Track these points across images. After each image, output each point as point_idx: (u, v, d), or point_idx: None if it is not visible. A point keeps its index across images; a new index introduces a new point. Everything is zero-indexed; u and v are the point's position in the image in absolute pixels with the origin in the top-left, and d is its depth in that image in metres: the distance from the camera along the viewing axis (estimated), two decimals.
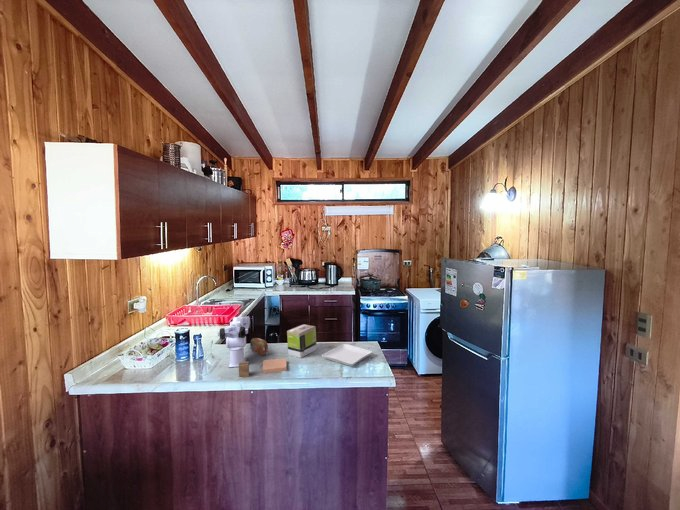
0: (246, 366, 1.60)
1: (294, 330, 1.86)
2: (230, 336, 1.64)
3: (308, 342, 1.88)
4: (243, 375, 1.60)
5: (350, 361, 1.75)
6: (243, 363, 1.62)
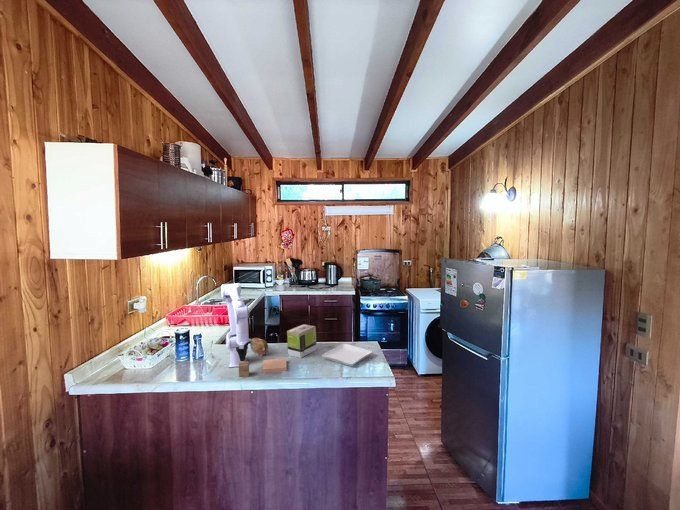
0: (246, 366, 1.60)
1: (294, 330, 1.86)
2: None
3: (309, 342, 1.88)
4: (243, 375, 1.60)
5: (350, 361, 1.75)
6: (243, 363, 1.62)
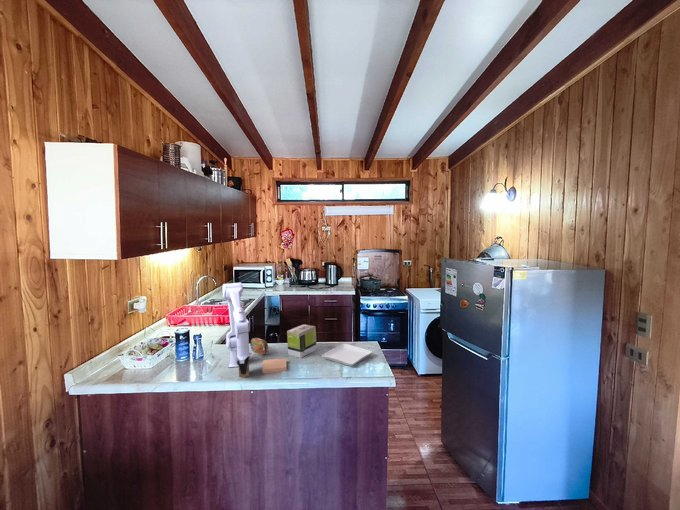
0: None
1: (294, 330, 1.86)
2: None
3: (309, 342, 1.88)
4: (243, 375, 1.60)
5: (350, 361, 1.75)
6: None
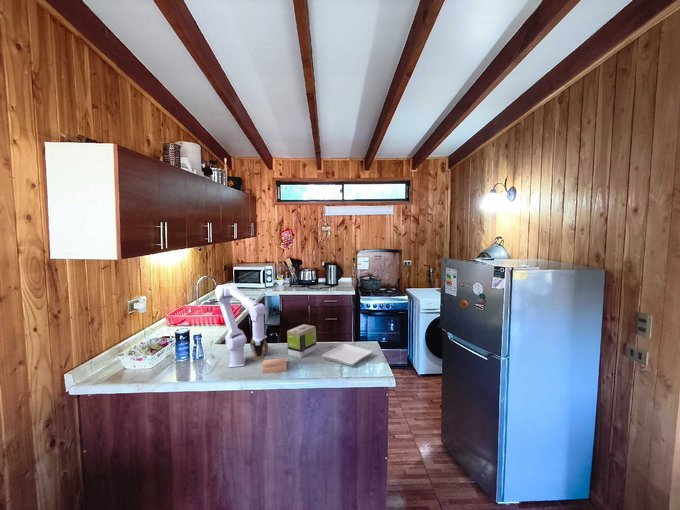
0: None
1: (294, 330, 1.86)
2: None
3: (309, 342, 1.88)
4: (258, 357, 1.64)
5: (350, 361, 1.75)
6: None
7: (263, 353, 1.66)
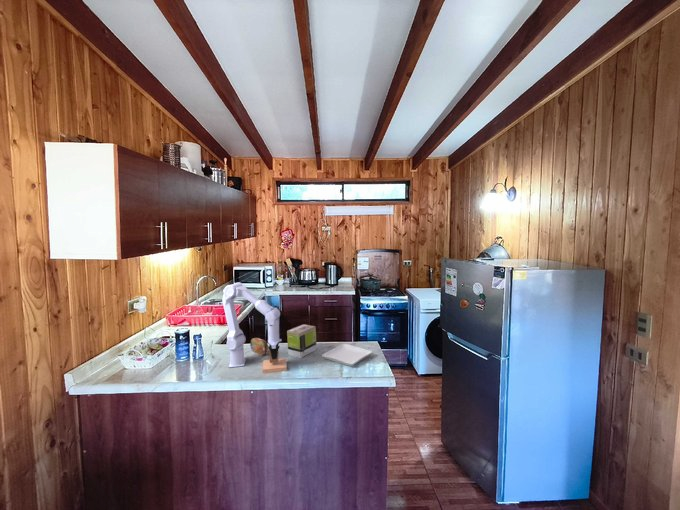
0: None
1: (294, 330, 1.86)
2: None
3: (309, 342, 1.88)
4: (273, 360, 1.68)
5: (350, 361, 1.75)
6: None
7: None
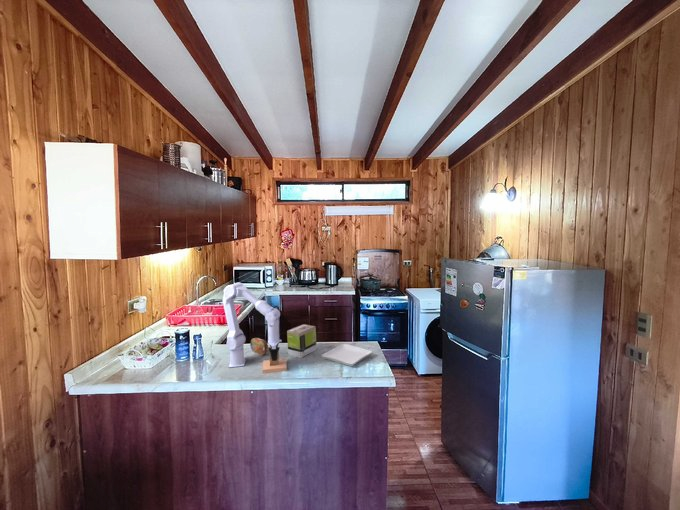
0: (277, 355, 1.69)
1: (294, 330, 1.86)
2: None
3: (309, 342, 1.88)
4: (274, 363, 1.69)
5: (350, 361, 1.75)
6: None
7: None
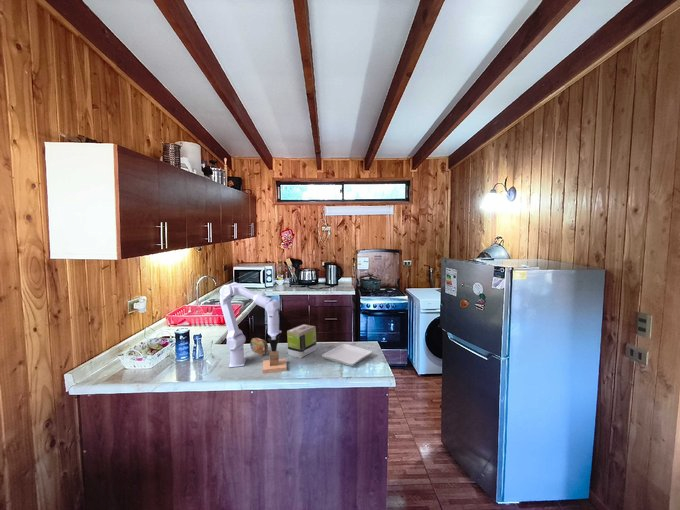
0: (276, 355, 1.68)
1: (294, 330, 1.86)
2: None
3: (309, 342, 1.88)
4: (274, 363, 1.68)
5: (350, 361, 1.75)
6: (274, 352, 1.71)
7: None
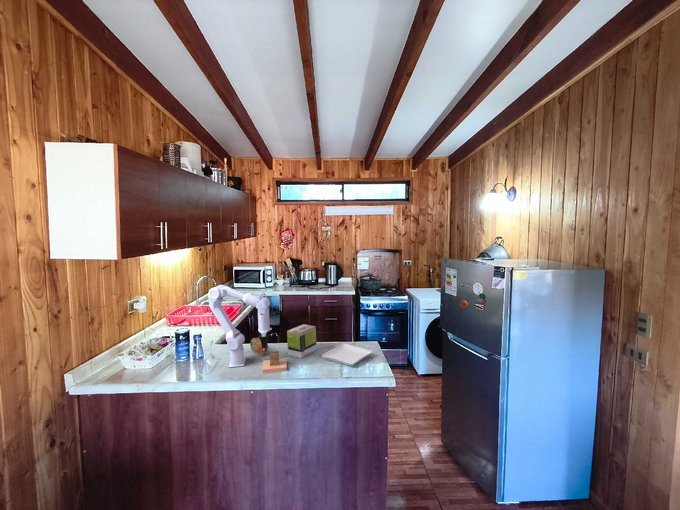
0: (277, 355, 1.69)
1: (294, 330, 1.86)
2: None
3: (309, 342, 1.88)
4: (274, 363, 1.69)
5: (350, 361, 1.75)
6: (274, 352, 1.71)
7: None
